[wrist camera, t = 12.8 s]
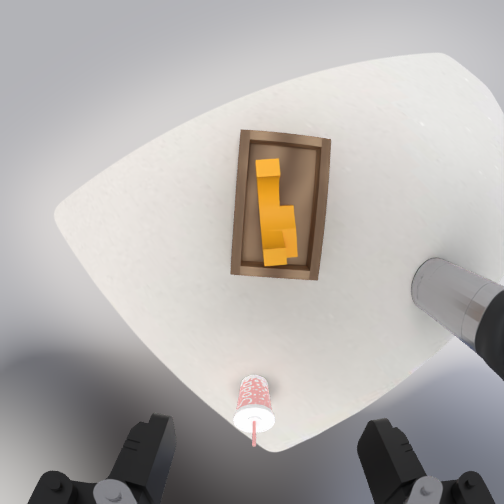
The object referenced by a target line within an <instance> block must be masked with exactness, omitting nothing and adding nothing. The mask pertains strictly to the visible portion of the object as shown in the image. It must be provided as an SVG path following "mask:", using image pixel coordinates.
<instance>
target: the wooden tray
mask: <svg viewBox="0 0 504 504" xmlns="http://www.w3.org/2000/svg"><path fill="white" fill-rule="evenodd" d="M330 150H331V139H326V138H319V137H312V136H305V135H297V134H288V133H278V132H267V131H255V130H241V133H240V145H239V157H238V170H237V183H236V197H235V211H234V225H233V241H232V257H231V274H232V275H245V276H259V277H273V278H288V279H303V280H318V274H319V267H320V259H321V252H322V243H323V235H324V226H325V216H326V205H327V194H328V181H329V167H330ZM276 158H279V165H280V179H279V201H280V205H294V216H295V225H296V234H297V252H298V257H291V258H287V264H286V265H274V266H264V259H263V251H262V238H261V226H260V214H259V203H258V191H257V180H256V168H255V160H262V159H276Z"/></svg>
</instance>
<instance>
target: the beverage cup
mask: <svg viewBox="0 0 504 504" xmlns="http://www.w3.org/2000/svg"><path fill="white" fill-rule="evenodd" d="M233 420H234V424H235V425H236V427H237V428H238V429H240V430H242V431H244V432H249V433H252V446H253V447H255V446H256V433H260V432H264V431H267V430H268V429H270V428H271V427H272V426H273V425H274V423H275V416H274V413H273V411H272V407H271V401H270V395H269V389H268V383H267V381H266V379H265V378H263V377H262V376H258V375H250V376H247V377H245V378H244V379H243V380H242V382H241V387H240V392H239V398H238V404H237V410H236V412H235V414H234V418H233Z"/></svg>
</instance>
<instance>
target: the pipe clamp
mask: <svg viewBox="0 0 504 504" xmlns="http://www.w3.org/2000/svg"><path fill="white" fill-rule="evenodd" d="M255 168H256V180H257V191H258V203H259V214H260V226H261V238H262V251H263V259H264V266H274V265H286V264H287V258H291V257H298V252H297V234H296V225H295V216H294V205H280V201H279V179H280V165H279V158H276V159H262V160H255Z"/></svg>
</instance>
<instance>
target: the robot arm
mask: <svg viewBox="0 0 504 504" xmlns="http://www.w3.org/2000/svg"><path fill="white" fill-rule="evenodd" d="M412 297H413V300H414V302H415V304H416V305H417V306H418V307H419V308H421V309H422V310H423V311H425V312H426V313H427V314H428V315H430V316H431V317H432V318H434V319H435V320H436V321H437V322H439V323H440V324H441V325H442V326H444V327H445V328H446V329H447V330H449V331H450V332H451V333H452V334H454V335H455V336H456V337H457V338H459V339H460V340H461V341H462V342H464V343H465V344H466V345H467V346H469V347H470V348H471V349H472V350H473V351H475V352H476V353H477V354H478V355H479V356H480V357H482V358H483V359H484V361H485V362H486V363H487V364H488V366H489V367H490V368H491V369H492V370H494V372H496V373H497V374H498V375H499V376H500V377H501V378H502V379H503V381H504V286H502V285H500V284H498V283H495V282H493V281H491V280H489V279H487V278H484V277H482V276H480V275H478V274H475V273H473V272H471V271H469V270H466V269H464V268H462V267H459V266H457V265H455V264H452V263H450V262H448V261H445V260H443V259H440V258H432V259H430V260H428V261H426V262H425V263H424V264H423V265H422V266H421V267H420V268H419V270H418V271H417V273H416V275H415V277H414V280H413V283H412ZM175 447H176V434H175V429H174V423H173V417H172V416H168V415H163V414H158V413H153V414H152V416H151V418H150V420H149V423H144V422H139V423H138V424H137V425H135V426H134V427H133V428H132V429H131V430H130V433H129V435H128V437H127V440H126V441H125V443H124V445H123V448H122V450H121V452H120V454H119V456H118V458H117V460H116V463H115V465H114V467H113V469H112V471H111V473H110V475H109V476H108V478H106V479H105V480H103V481H100V482H99V483H84V482H78V481H72V480H70V479H69V478H68V477H67V476H66V475H65V474H63V473H61V472H59V471H48V472H46V473H44V474H43V475H42V476H41V478H40V480H39V482H38V484H37V486H36V487H35V489H34V491H33V493H32V496H31V497H30V499H29V502H28V504H160V503H161V499H162V495H163V492H164V488H165V484H166V481H167V477H168V474H169V470H170V466H171V463H172V459H173V456H174V452H175ZM357 452H358V456H359V459H360V461H361V464H362V467H363V470H364V473H365V476H366V479H367V482H368V485H369V488H370V491H371V494H372V497H373V500H374V503H375V504H495V502H494V500H493V498H492V496H491V494H490V492H489V490H488V488H487V486H486V484H485V483H484V481H483V479H482V477H481V476H480V475H479V474H478V473H477V472H474V471H468V472H465V473H464V474H463V475H461V476H460V477H459V479H457V480H450V481H442V482H441V481H440V480H438V479H437V478H435V477H432V476H427V475H426V473H425V471H424V469H423V467H422V465H421V463H420V462H419V460H418V458H417V456H416V454H415V453H414V451H413V448H412V446H411V445H410V444H409V441H408V439H407V437H406V435H405V434H404V433H403V432H401V431H400V430H399V429H398V428H397V427H395V428H392V425H391V423H390V422H389V420H388V419H387V418H384V419H378V420H371V421H369V422H368V424H367V426H366V428H365V430H364V432H363V434H362V436H361V438H360V439H359V441H358V445H357Z"/></svg>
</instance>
